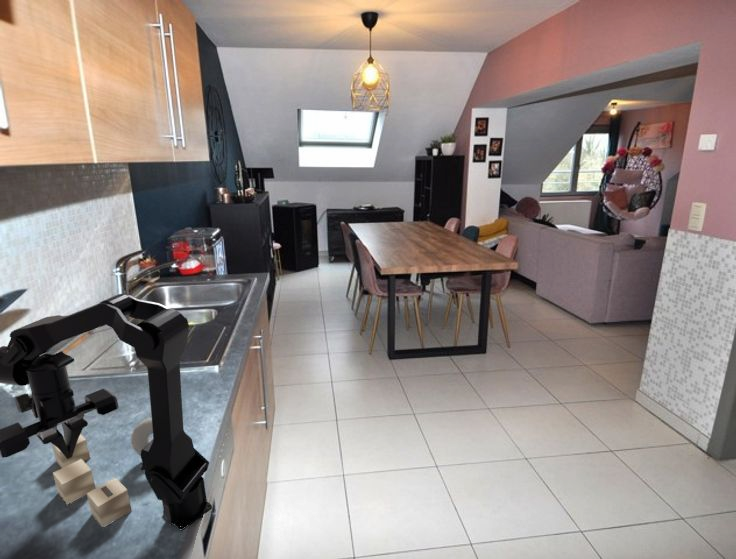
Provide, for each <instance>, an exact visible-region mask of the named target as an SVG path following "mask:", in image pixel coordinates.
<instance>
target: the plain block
mask: <svg viewBox="0 0 736 559" xmlns="http://www.w3.org/2000/svg"><path fill="white" fill-rule="evenodd" d="M52 475H53V479H54V482H55V487H56V491H57V494H58V493H59V494H60V495H59V494H58V495H59V496H60V498H61V497H62V498H63V499H62V498H61V499H62V500H63V501H65V502H66V503H65V502H64V503H65V505H67V504H69V503H71V502H73V501H75V500H77V499H79V498H81V497H82V498H84V497H85V496H84V495H86V496H87V493H88V492H90V491H92V490H94V489H95V488H97V487H96V485H95V480H94V475H93V472H92V468H90V467H89V465H88V464H87V463H86V461H83V460H82V459H80V460H78V461H76V462H74V463H72V464H70V465H68V466H66V467H64V468H60V469H58V470H56V471H54V472H52ZM83 496H84V497H83ZM82 498H81V499H82ZM79 500H80V499H79ZM77 501H78V500H77ZM75 502H76V501H75ZM73 503H74V502H73ZM71 504H72V503H71Z"/></svg>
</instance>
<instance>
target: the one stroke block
mask: <svg viewBox="0 0 736 559" xmlns="http://www.w3.org/2000/svg"><path fill="white" fill-rule="evenodd" d="M86 496H87V501H88V504H89V509H90V512H91V513H92V514H93V516H94V517H95V518H96V519H97V521H98V522H99V523H100V524H101V525H100V524H99V523H98V522H97V521H96V522H97V523H98V524H99V525H100V526H102V527H103V526H105V525H107V524H109V523H111V522H112V521H114V520H116V519H118V518H119V519H121V518H123V517H124V516H125V514H126V515H127V514H129V513H130V511H131V512H132V510H133V509H132V506H131V501H130V496H129V491H128V488H126V487H125V486H124V485H123V484H122V482H120V481H119V479H117V477H113V478H112V479H110V480H109V481H107V482H105V483H103V484H101V485H100V486H97V487H96V488H95V489H94V490H92V491H90V492H88V493H87V495H86ZM128 512H129V513H128ZM92 514H91V515H92ZM123 515H124V516H123ZM93 516H92V517H93ZM122 516H123V517H122ZM94 517H93V518H94ZM120 517H121V518H120ZM95 518H94V519H95ZM96 519H95V520H96ZM119 519H118V520H119ZM116 521H117V520H116ZM111 524H112V523H111ZM102 527H101V528H102Z"/></svg>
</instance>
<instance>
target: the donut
mask: <svg viewBox="0 0 736 559" xmlns="http://www.w3.org/2000/svg"><path fill="white" fill-rule="evenodd" d="M150 435H153V428H152V417H149V418H145V419H144V420H142V421H141V422H139V423H138V424H137V425H136V426H135V427H134V429H133V431H132V434H131V436H130V437H131V440H130V444H131V446H132V449H133V450H134V451H135V452H136V454H137V455H139V456H140V457H141V450H142V449H143V448H144V447H145V446H146V445H147V444H148V443H149V442H151V441H152V440H150V437H149V436H150Z"/></svg>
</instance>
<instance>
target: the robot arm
mask: <svg viewBox="0 0 736 559" xmlns="http://www.w3.org/2000/svg"><path fill="white" fill-rule="evenodd" d="M127 317H129V318H132V319H137V320H140V321H141V320H142V321H141V322H139V323H137V324H134V323H133V322H130V321H128V319H127ZM104 326H108V327H110V328H112V330H113V331H114V333H115V335H116V336H117V337H118V339H119V341H121V342H122V343H125V345H126V344H127V345H128V346H130V347H133V348H134V352H135V356H136V358H137V359H138V360H139V361H140V362H141V363H142V364H143V365H144V366H145V367H146V369H147V378H148V379H147V380H148V381H147V382H148V390H149V403H150V404H149V405H150V415H151V417H152V428H153V433H152V437H153V438H152V439H151V440H150V441H151V442H149V443H148V444H147V445H146V446H145V447H144V448H143V449H142V450H141V456H140V459H141V463H142V465H141V468H140V470H141V471H142V472H143V471H144V476H145V478H146V480H147V482H148V484H149V487H150V488H151V489H152V491H153V493H154V494H155V497H156V498H157V500H159V501H161V502H162V510H163V511H162V513H163V515H164V518H165V519H166V520H167V522H169V523H170V524H171V525H174V524H175V525H176V526H177V527H178V528H179V529H183V528H184V527H186V526H187V525H188V526H190V525H192V523H194V522H195V521H197V520H199V518H201V517H202V516H204V515H205V514H207V513H208V512H209V511H211V510H212V509H213V505H212V504H211V503H210V502H209V501H208V499H207V493H206V485H205V479H204V477H203V475H204V474H205V473H206V472H207V471H208V469H209V465H210V462H209V460H207V458H205V457H204V456H203V455H202V454H201V453H200V451H198V450H197V449H196V448H195V447H194V443H193V442H194V441H193V439H192V437H191V436H190V435H188V433H187V432H186V431H185V430H184V416H183V398H182V385H181V384H182V381H181V380H182V379H181V366H180V364H181V359H182V357H183V354H184V352H185V349H186V347H187V345H188V340H189V338H188V337H189V332H190V330H189V329H190V324H189V321H188V319H187V317H186V316H184V315H183V314H182V313H181V312H180V311H179V310H176V309H173V308H171V307H169V306H166V305H164V304H162V303H159V302H154V301H148V300H142V299H138V298H136V297H134V296H132V295H130V294H127V293H119V294H116V295H113V296H111V297H108V298H106V299H104V300H102V301H100V302H98V303H96V304H94V305H92V306H89V307H86V308H83V309H81V310H78V311H76V312H73V313H70V314H68V315H60V314H58V315H52V316H45V317H43V318H41V319H38V320H35V321H33V322H31V323H28V324H26V325H23V326H21V327H18V328H16V329H14V330H12V331H11V332H10V333H9V337H10V340H9V342H8V344H7V346H6V345H3V346H0V384H6V385H12V386H21V387H22V386H28V385H29V387H30V392H31V395H29V394H28V393H22V394H20V395H17V396H14V401H15V405H16V407H17V410H18V413H20V414H23V413H25V412H28V411H31V412H32V413H33V417H34V418H35V419H38V421H37V422H34V423H32V424H30V425H27V426H25V427H23V426H22V425H21V424H20V423H19V422H15V423H12V424H10V425H8V426H5V427H3V428H0V456H1V458H9V457H11V456H13V455H16V454H18V453H20V452H23V451H24V450H26V449H28V447H29V446H30V444H31V442H30V438H31V437H33V436H36V437H37V439H39V440H40V442H41V443H42V444H43V445H47V444H50V443H52V444H53V445H55V446H56V447H57V448H58V449H59V450H60V451H61V452H62V453H63V455H64V456H65V457H66V458H67V459H69V458H71V457H72V456H73V453H74V450H75V446H76V443H77V440H78V438H79V436H80V434H81V435H82V431H83V429H84V428H86V427H87V426H88V425H89V422H88V421H87V420H86V419H85V417H86V416H85V415H86V414H88V413H90V412H92V411H94V410H95V411H96V413H97V414H98V415H101V416H104V415H105V416H106V415H107V414H109V413H112V412H114V411H116V410H118V409H119V402H118V399H117V397H116V396H115V395H114V394H113V393H112V392H110V391H109V390H107V388H101V389H99V390H96V391H93V392H91V393H89V394H86V395H84V403H81V404H78V405H76V404H75V399H74V390H73V389H72V387H71V382H70V381H71V380H70V378H69V375H68V374H69V373H68V369H67V366H68V365H70V364H72V363H74V362H75V358H74V357H73V356H71V355H69V354H67V353H65V352H64V351H62V350H60V351H58V352H56V353H48V352H50V351H52V350H55V349H56V348H58V347H61V346H62V345H64V344H65V343H67V342H68V341H70V340H71V339H73V338H74V337H77V336H79V335H81V334H84V333H88V332H91V331H92V330H96V329H99V328H101V327H104ZM151 417H150V418H151ZM59 425H61V427H62V430H63V434H62V433H61V432H60V431H59V429H58V428H57V426H59ZM63 437H64V438H65V441H64V438H63ZM52 444H51V445H52ZM175 525H174V526H175ZM176 526H175V527H176ZM180 526H182V527H180ZM188 526H187V527H188ZM177 527H176V528H177ZM187 527H186V528H187ZM178 528H177V529H178ZM179 529H178V530H179ZM184 529H185V528H184ZM184 529H183V530H184Z"/></svg>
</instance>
